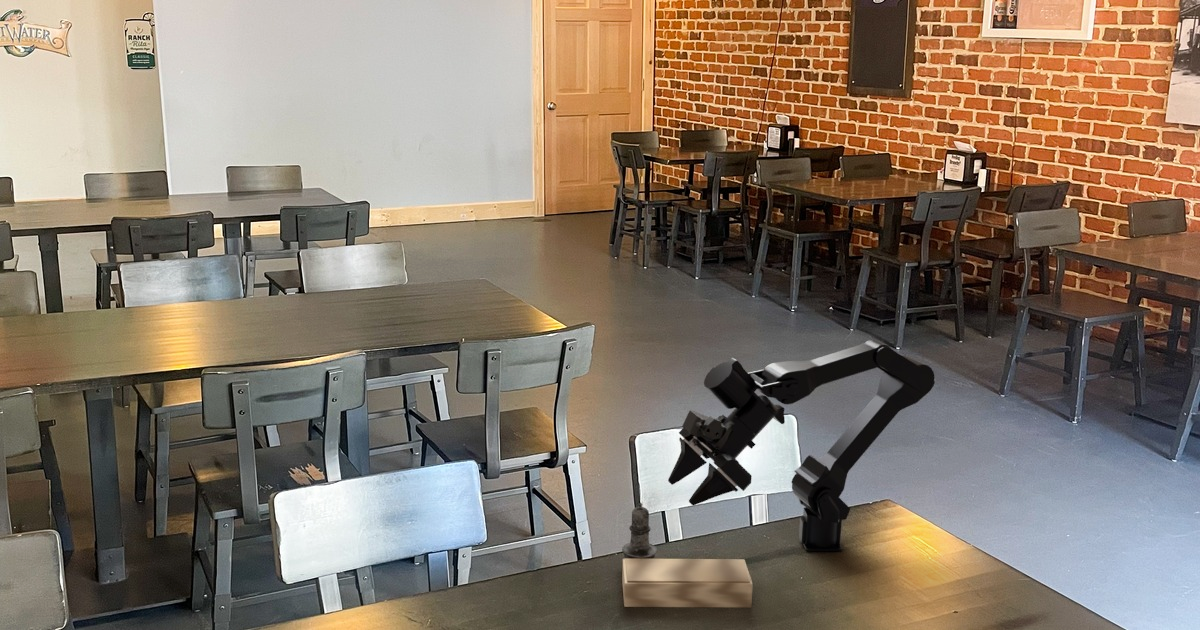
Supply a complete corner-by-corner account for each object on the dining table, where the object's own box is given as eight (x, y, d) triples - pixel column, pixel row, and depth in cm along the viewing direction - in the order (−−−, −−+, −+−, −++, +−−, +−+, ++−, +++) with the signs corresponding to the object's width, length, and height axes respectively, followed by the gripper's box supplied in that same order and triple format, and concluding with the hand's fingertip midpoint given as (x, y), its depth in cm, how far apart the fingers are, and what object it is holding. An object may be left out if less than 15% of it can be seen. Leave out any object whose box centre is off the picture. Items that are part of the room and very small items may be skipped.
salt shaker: (638, 557, 185) (640, 492, 182) (663, 569, 181) (665, 502, 178) (614, 568, 181) (615, 502, 178) (639, 580, 177) (641, 512, 174)
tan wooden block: (743, 581, 177) (744, 558, 176) (751, 607, 169) (752, 582, 168) (622, 581, 177) (622, 557, 176) (624, 606, 168) (624, 581, 167)
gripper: (691, 379, 187) (630, 445, 186) (737, 412, 169) (670, 485, 168) (730, 418, 191) (671, 483, 190) (779, 455, 174) (714, 526, 173)
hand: (680, 492), depth 180 cm, fingers open, 9 cm apart
